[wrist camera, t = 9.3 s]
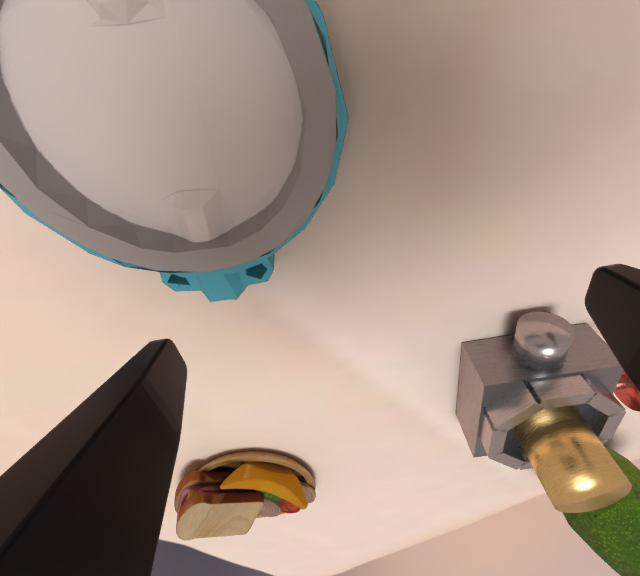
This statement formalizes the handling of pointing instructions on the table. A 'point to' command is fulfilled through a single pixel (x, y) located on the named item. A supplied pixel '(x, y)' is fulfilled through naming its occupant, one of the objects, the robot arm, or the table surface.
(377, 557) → the table surface
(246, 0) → the butterfly valve
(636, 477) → the avocado
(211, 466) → the toy sandwich meal
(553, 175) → the table surface
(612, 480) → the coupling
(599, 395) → the valve
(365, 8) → the table surface
